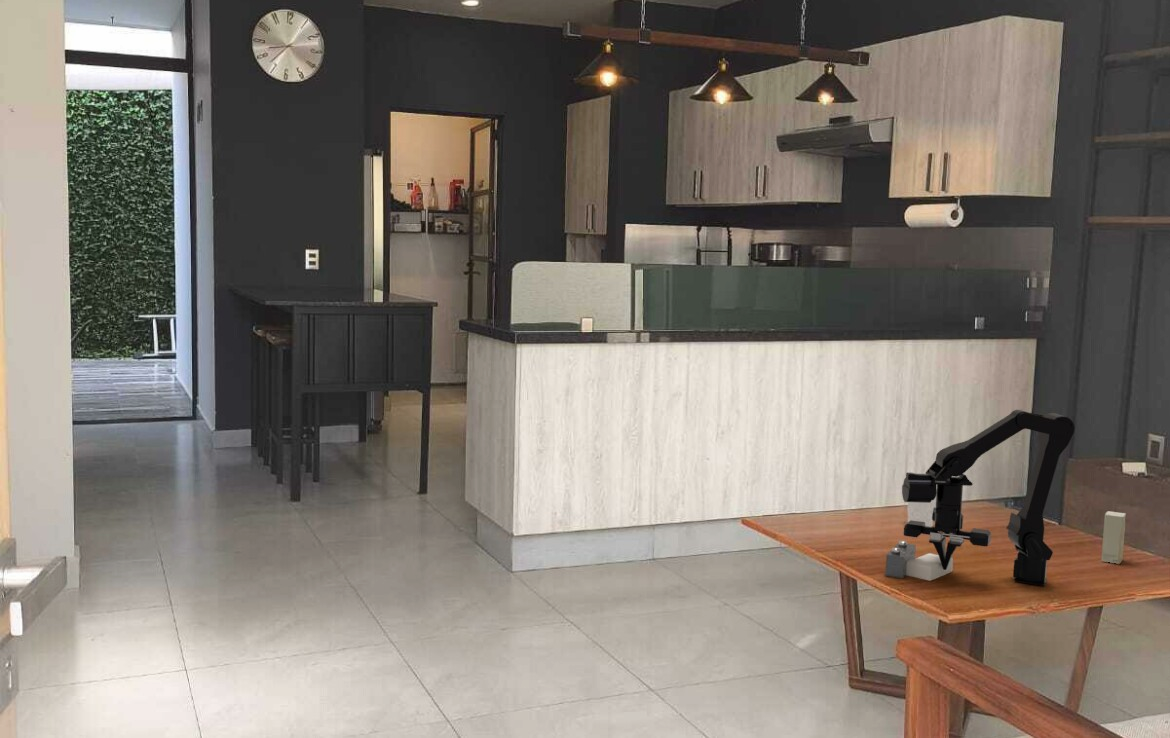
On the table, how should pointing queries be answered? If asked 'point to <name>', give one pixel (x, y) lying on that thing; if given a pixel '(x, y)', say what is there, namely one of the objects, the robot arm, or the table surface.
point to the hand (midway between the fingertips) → (944, 569)
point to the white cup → (921, 512)
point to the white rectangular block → (927, 567)
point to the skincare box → (1113, 537)
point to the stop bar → (899, 559)
